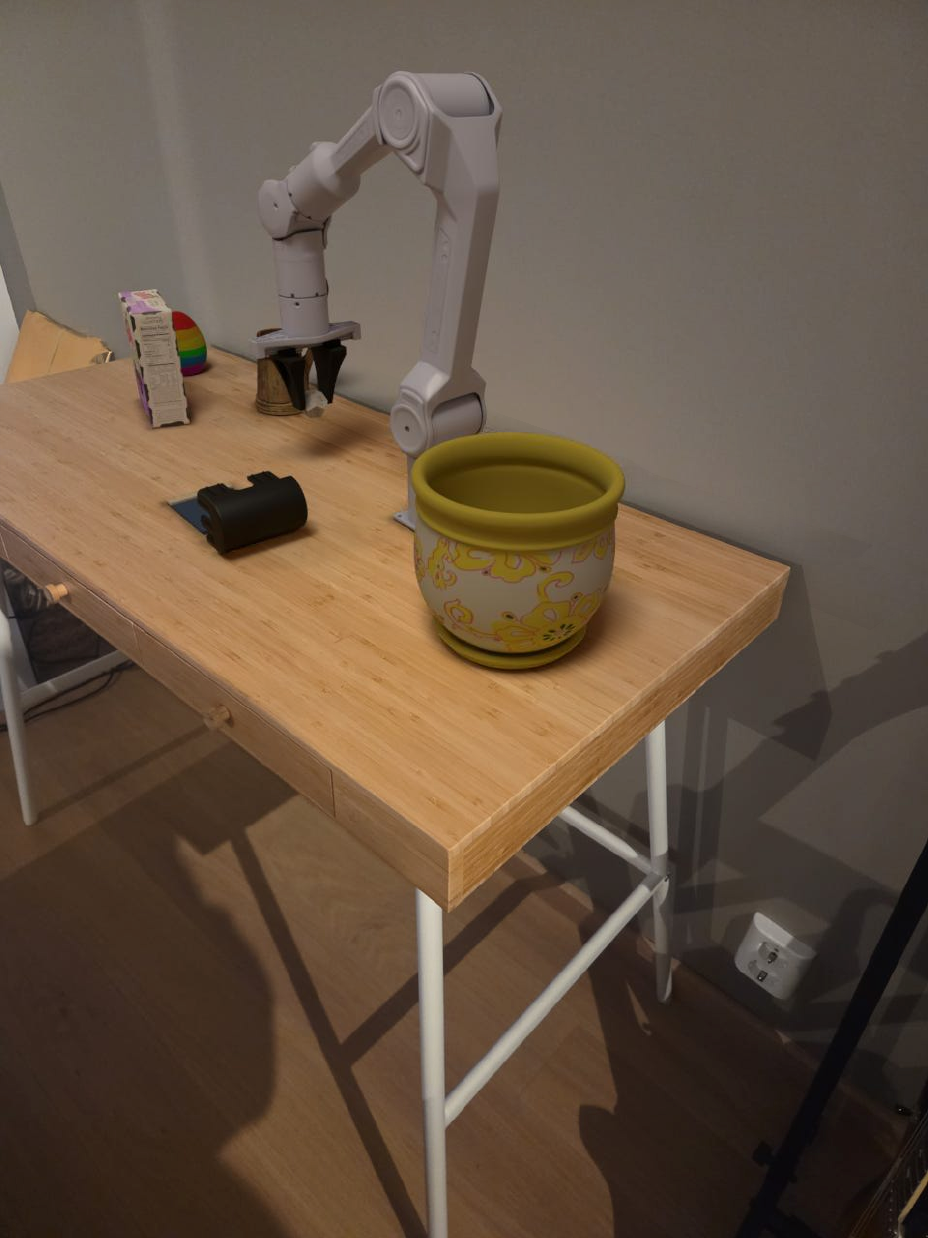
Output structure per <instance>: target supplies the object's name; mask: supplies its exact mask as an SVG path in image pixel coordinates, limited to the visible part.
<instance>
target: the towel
mask: <svg viewBox="0 0 928 1238" xmlns="http://www.w3.org/2000/svg"><path fill="white" fill-rule="evenodd" d="M224 484H225V485H226V486H227V487H229V488H231V489H234V487H233V485H232V484H231V483H229V482H225V483H224ZM198 491H199V490H197V491H194V492H193V491H192V492H190V493H186V494H182V495H179V496H175V497H171V498H168V499H166V505H168V506H169V507H170V508H171V509H172V510H173V511H175V512H176V513H177V514H178V515H179V516H181V517H182V518H183V519H184V520H186V521H187V522H188V523H189V524H190V525H191V526H192V527H194V528H195V529H196V530H198V531H199V532H200V533H201V534H202V535H208V534H210V532H209V531H207V530H206V529H205V528H204V527H203V525H202V522H201V521H200V520H201V515H205V516H206V517H208V518H209V519H210V515H209V513H208V512H207V511H205V510H204V509H203V508H202V507H201V506H199V504H198V503H197V500H198V498H197V492H198Z"/></svg>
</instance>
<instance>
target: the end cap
mask: <svg viewBox="0 0 928 1238" xmlns="http://www.w3.org/2000/svg"><path fill="white" fill-rule="evenodd" d="M246 480H247V481H248V482H249V483H251V485H252V486H248V487H244V488H240V489H235V488H233V489H231V488H229V487H227V486H226V485H225V483H223V482H221V483H219V482H218V483H216V484H214V485H209V486H208V485H207V486H205V487H203V488H200V489H199V490H197V491H198V492H197V491H196V492H197V498H198V500H197V503H198V504H199V506H201V507H202V508H203V509H204V510H205V511H207V512H208V513H209V515H210V519H209V518H208V517H206V516H205V515H201V520H200V521H201V522H202V525H203V527H204V528H205V529H206V530H207V531H209V532H210V533H207V534H205V539H206V541H207V543H208V544H209V545H210V546H212V547H213V548H214V549H215V550H216V551H217V552H219V554H221V555H227V554H231V553H233V552H237V551H241V550H243V549H246V548H249V547H252V546H255V545H258V544H262V543H264V542H268V541H270V540H274V539H278V538H281V537H283V536H286V535H290V534H292V533H296V532H297V531H299V530H300V529H301V528H302V527H304V526H306V524H307V522H308V518H309V509H308V503H307V499H306V496H305V492H304V491H303V489H302V487H301V485H300V484H299V482H298V481H297V479H296V478H295V477H293V476H292V475H287V476H283V477H279V476H277V475H276V474H275V473H273V472H271V471H270V470H265V471H264V470H262V471H261V472H258V473H255V474H254V473H252V474H250V475H247V476H246Z"/></svg>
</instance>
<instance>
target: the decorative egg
mask: <svg viewBox="0 0 928 1238" xmlns="http://www.w3.org/2000/svg"><path fill="white" fill-rule="evenodd" d="M172 315H173V320H174V326H175V332H176V338H177V345H178V351H179V357H180V363H181V369H182V375H183V377H187V376H193V375H197V374H200V373H201V372H202V371H203V369H204V368H205V366H206V363H207V358H208V348H207V343H206V339H205V337H204V334H203V332H202V331H201V328H200V327H199V325H198V324H197V323H196V321H194V320H193V318H192V317H190V316H189V315H188V314H186V313H184V312H182V311H178V310H172Z"/></svg>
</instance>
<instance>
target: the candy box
mask: <svg viewBox="0 0 928 1238" xmlns="http://www.w3.org/2000/svg"><path fill="white" fill-rule="evenodd" d="M117 295H118V300H119V304H120V310H121V315H122V318H123V323H124V328H125V333H126V337H127V341H128V346H129V349H130V355H131V361H132V365H133V370H134V374H135V380H136V384H137V389H138V394H139V400H140V403H141V404H142V407H143V410H144V412H145V414H146V417H147V419H148V421H149V424H150V426H151V428H152V429H154V428H155V429H156V428H164V427H173V426H174V427H175V426H184V425H189V424H191V416H190V411H189V405H188V399H187V393H186V388H185V381H184V376H183V375H182V369H181V363H180V357H179V351H178V345H177V338H176V332H175V326H174V320H173V315H172V312H173V309H171V308H170V307H169V306H168V304H167V302H166V300H165V299H164V298H163V296H162V295H161V294H160V293H159V291H158V289H157V288H153V289H141V290H132V291H130V290H129V291H120V292H118V293H117Z"/></svg>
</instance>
